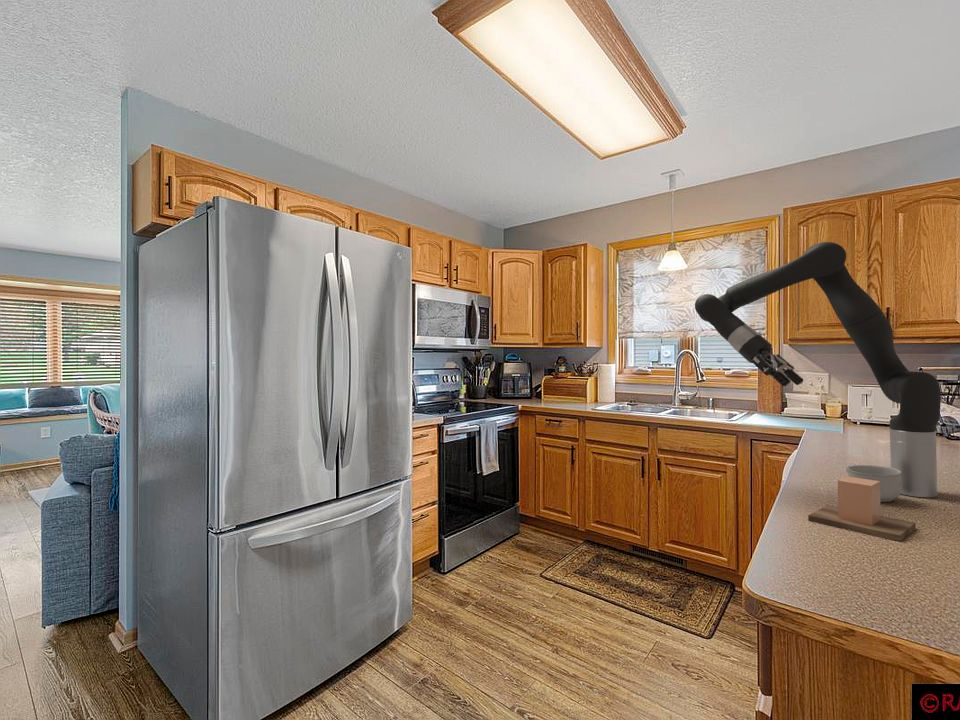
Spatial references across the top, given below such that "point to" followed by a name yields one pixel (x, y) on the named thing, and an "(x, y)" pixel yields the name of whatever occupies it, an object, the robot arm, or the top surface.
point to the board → (882, 528)
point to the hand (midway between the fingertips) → (794, 383)
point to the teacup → (879, 479)
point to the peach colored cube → (859, 500)
